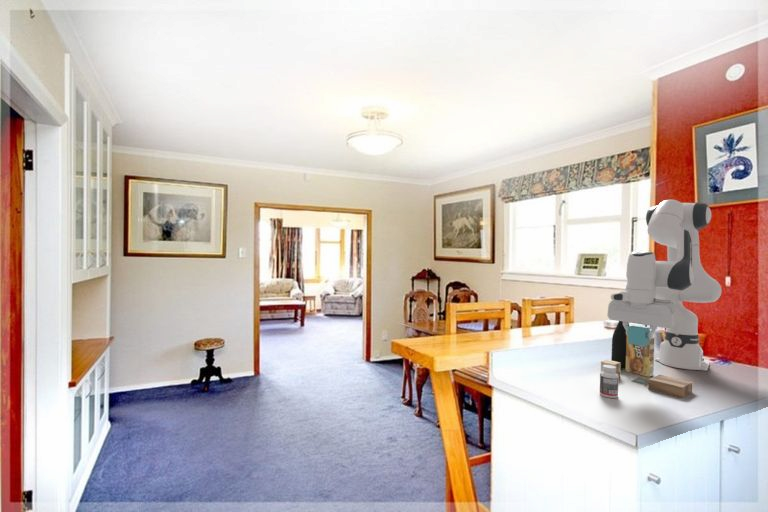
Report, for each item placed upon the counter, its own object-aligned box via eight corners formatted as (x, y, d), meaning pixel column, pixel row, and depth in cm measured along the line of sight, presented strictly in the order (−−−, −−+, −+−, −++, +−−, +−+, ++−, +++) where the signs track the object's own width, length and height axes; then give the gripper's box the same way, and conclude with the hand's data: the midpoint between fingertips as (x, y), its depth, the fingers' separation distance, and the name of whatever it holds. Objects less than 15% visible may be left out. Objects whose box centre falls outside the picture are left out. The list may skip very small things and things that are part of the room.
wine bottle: (634, 367, 170) (637, 296, 170) (631, 370, 164) (633, 297, 164) (613, 363, 175) (615, 294, 175) (609, 366, 169) (611, 295, 169)
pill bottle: (600, 391, 138) (601, 363, 138) (618, 395, 135) (619, 366, 134) (598, 395, 133) (599, 366, 133) (617, 399, 130) (618, 369, 130)
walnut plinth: (659, 385, 147) (659, 374, 147) (692, 393, 139) (692, 382, 139) (648, 390, 141) (648, 379, 141) (682, 399, 133) (682, 387, 133)
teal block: (633, 341, 144) (634, 325, 144) (649, 344, 140) (650, 327, 140) (627, 343, 141) (628, 326, 141) (643, 346, 137) (644, 328, 137)
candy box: (653, 375, 158) (655, 337, 158) (648, 377, 156) (650, 338, 156) (629, 369, 166) (631, 332, 165) (624, 371, 163) (626, 333, 163)
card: (639, 377, 155) (639, 376, 155) (654, 381, 151) (654, 380, 151) (631, 381, 150) (631, 380, 150) (645, 384, 146) (646, 383, 146)
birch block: (606, 374, 158) (607, 359, 158) (620, 378, 154) (620, 362, 154) (600, 376, 155) (601, 361, 155) (614, 380, 151) (614, 364, 151)
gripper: (678, 300, 134) (677, 341, 134) (614, 293, 150) (612, 330, 151) (671, 301, 130) (670, 343, 131) (606, 294, 147) (604, 332, 147)
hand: (638, 336), depth 141 cm, fingers closed on teal block, 5 cm apart
